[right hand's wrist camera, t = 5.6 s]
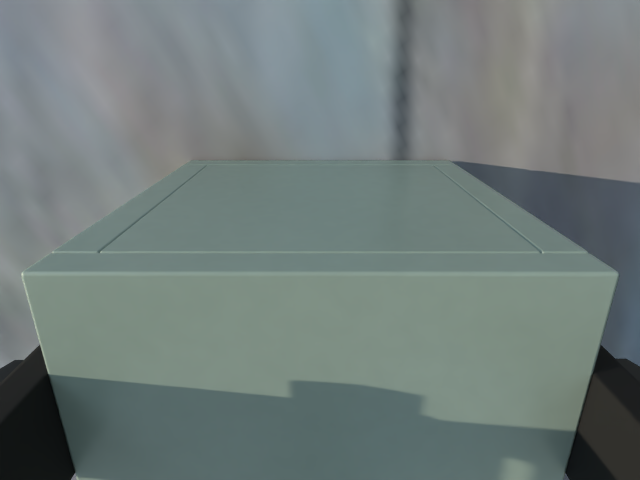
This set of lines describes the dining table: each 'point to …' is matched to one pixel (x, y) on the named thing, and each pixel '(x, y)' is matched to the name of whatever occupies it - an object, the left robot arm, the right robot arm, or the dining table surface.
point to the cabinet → (320, 328)
